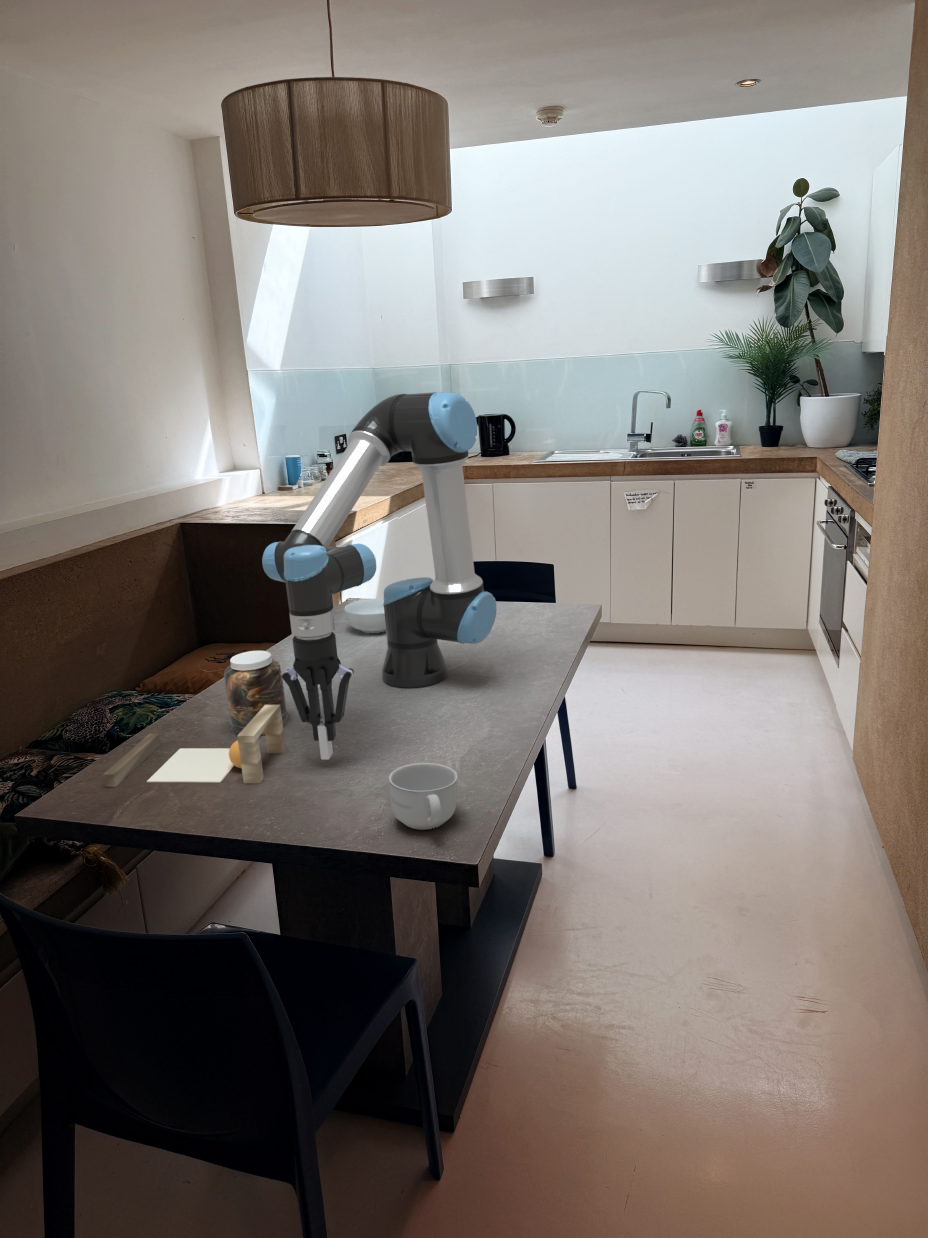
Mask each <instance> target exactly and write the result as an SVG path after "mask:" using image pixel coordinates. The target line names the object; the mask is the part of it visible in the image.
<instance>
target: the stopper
mask: <svg viewBox="0 0 928 1238" xmlns="http://www.w3.org/2000/svg"><path fill="white" fill-rule="evenodd" d="M161 745H162V743H161V738H160V733H148V734H147V735H146V736H145V737H144V738H142V740H140V741H139V742H138V743H137V744H135V746H134V747H133V748H131V749H130V750H129V751H128V752H127V753H125V755H124V756H122V757H120V759H119V760H118V761H117V762H115V763H114V764H113V765H112V766H111V767H110V768H108V770H106V771H105V772H104V773H102V777H103V781H104V787H105V788H116V787H117V786H119V785H120V784H121V783H122V782H123V781H124V780H126V779H127V777H129V775H130V774H131V773H133V772H134V771H135V770H136V769H137V768H138V767H139V766H140V765H141V764H142V763H144V762H145V760H147V759H148V758H149V757H150V756H151V755H152V754H153V753H154V752H155V751H156V750H157V749H158V748H159V747H161Z"/></svg>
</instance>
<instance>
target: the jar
mask: <svg viewBox="0 0 928 1238" xmlns="http://www.w3.org/2000/svg"><path fill="white" fill-rule="evenodd" d="M229 661H230V665H229V666H228V667H226V668H225V670H224V672H223V676H224V677H223V678H224V688H225V689H224V690H225V696H226V702H227V710H228V718H229V723H230V724H229V725H230V729H231V732H232V733H233V734H235V735H236V736H238V734H239V733H240V732H241V731H242V730H243V729H244V728H245V727H246V726H247V724H248V723H249V722H250V721H251V720H252V719H253V718H254V717H255V716H256V714H257V713H258V712H259V711H260V710H261V709H262V708H263V707H264V706H265V705H280V707H281V715H282V723H283V728H284V727H285V726H286V725H287V724H288V711H287V703H286V697H285V688H284V682H283V681H284V680H283V678H282V675H283V673H282V667H281V665H280V664H281V663H279V661H278V660H276V659H272V653H271V652H270V651H267V650H249V651H243V652H241V653H237V654H236V655H234V656H232V657H231V658H230V660H229ZM260 736H265V731H263V733H262V734H261V735H260Z"/></svg>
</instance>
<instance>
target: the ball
mask: <svg viewBox="0 0 928 1238" xmlns="http://www.w3.org/2000/svg"><path fill="white" fill-rule="evenodd" d="M229 758H230V761H231V762H232V764H233V765H235V766H234V767H236V768H238V769H242V767H241V760H240V752H239V745H238V739H237V740H236V741H234V742H233V743H232V744H231V745H230V750H229Z"/></svg>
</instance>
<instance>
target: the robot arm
mask: <svg viewBox="0 0 928 1238" xmlns="http://www.w3.org/2000/svg"><path fill="white" fill-rule="evenodd" d="M477 435H478V423H477V418H476V413H475V411H474V409H473V407H472V405H471V404H470V402H469V401H467V399H466V398H465V397H464V396H463V395H461V394H459V393H456V392H455V393H454V392H444V391H436V392H424V393H423V392H421V393H400V394H399V393H398V394H394V395H391V396H388V397H387V398H385V399H383V400H382V401H380V402H378V403H377V404H375V405H374V406H373V407H372V408H371V409H370V410H369V411H368V412H367V413H366V414H364V416H362V418H361V419H360V420H358V423H357V424H356V425H355V426H354V428H353V429H352V431H351V432H350V433H349V435H348V437H347V447H346V448H345V450H344V452H343V453H342V454H341V456H340V457H339V459H338V460H337V462H336V463H335V465H334V467H332V470H330V472H329V474H328V476H327V477H326V479H325V480H324V481H323V483H322V484H321V486H320V487H319V489H318V490H317V492H316V493H315V495H314V496H313V498H312V499H311V501H310V502H309V504H308V506H307V507H306V509H305V510H304V512H303V513H302V515H301V516H300V518H299V519H298V521H297V522H296V524H295V525H294V527H293V528H292V530H291V531H290V533H289V534H288V535H287V537H286V538H285V540H284V541H278V542H277V541H275V542H272V543H270V544H269V545H268V546H266V547H265V550H264V551H263V555H262V558H261V560H262V561H261V562H262V563H261V564H262V568H263V571H264V573H265V574H266V576H268V578H269V579H271V580H273V581H278V582H282V583H285V587H286V597H287V601H288V602H287V603H288V610H289V620H290V629H291V634H292V635H293V637H292V647H293V656H294V661H293V664H292V667H291V668H288V669H286V670H285V671H284V673H282V679H283V681H284V682H285V683H286V685H287V686H288V689H289V691H290V694H291V696H292V698H293V702H294V704H295V707H296V710H297V713H298V716H299V718H300V721H301V722H302V723H308V724H310V725H311V726H312V728H311V729H312V734H313V737H312V738H313V740H314V742H318V746H319V754H320V759H321V760H330V758H331V756H332V755H333V753H334V751H333V742H334V740H335V739H336V737H337V734H336V723H340V722H341V720H342V719H344V718H343V717H344V716H345V712H346V711H345V710H346V705H347V698H348V691H349V685H350V680H351V678H352V677H353V675H354V674H355V673H354V672H355V670H354V669H353V668H351V667H350V668H347V667H346V666H344V665H342V663H341V660H340V659H339V656H338V648H337V639H336V638H337V637H336V633H334V631H335V619H334V611H333V601H332V596H333V595H335V594H338V593H341V592H343V591H345V590H349V589H352V588H356V587H360V586H362V585H364V584H365V583H368V582H369V581H371V580H372V579H373V577H374V576H375V574H376V572H377V558H376V556H375V554H374V553H373V551H372V550H371V548H370V547H368V546H367V545H366V544H363V543H353V544H351V543H350V544H347V545H344V546H331V545H330V544H331V543H332V541H333V539H334V538H335V536H336V535H337V533H338V532H339V531H340V529H341V527H342V526H343V524H344V522H345V521H346V519H347V518H348V517H349V515H350V513H351V512H352V510H353V508H354V507H355V505H356V504H357V502H358V501H359V499H360V498H361V496H362V495H363V493H364V492H365V490H366V488H367V487H368V485H369V483H370V481H371V480H372V479H373V477H374V475H375V474H376V472H377V471H378V469H379V468H380V467H382V466H385V465H387V464H388V463H389V461H390V460H391V458H392V457H393V456H394V455H396V454H398V453H400V452H411V457H412V464H413V465H414V466H415V467H416V468H418V469H419V470H420V471H421V477H422V485H423V493H424V500H425V501H424V502H425V508H426V514H427V521H428V529H429V536H430V544H431V545H430V546H431V553H432V561H433V568H434V576H435V579H433V578H431V577H426V576H425V577H414V578H408V579H404V580H399V581H395V582H392V583H390V584H388V585H386V587H385V588H384V589H383V599H384V603H383V606H384V613H385V623H386V641H387V649H386V653H385V657H384V662H383V665H382V673H381V674H382V680H383V682H384V683H385V684H386V685H389V686H391V687H397V688H403V689H404V688H413V689H414V688H421V687H427V686H432V685H436V684H437V683H440V682H442V681H443V680H445V679H446V677H447V676H448V669H447V668H448V667H447V663H446V661H445V658H444V655H443V653H442V651H441V649H440V646H439V644H438V643H439V642H438V640H440V641H446V642H454V643H459V644H472V645H475V644H480V643H481V642H483V641H484V640H485V639H486V638H487V637H488V636H489V635H490V633H491V631H492V629H493V626H494V625H495V621H496V617H497V616H496V615H497V600H496V598H495V597H494V596H493V594H492V593H491V592H488V591H485V589H484V581H483V579H482V577H481V576H480V575H477V574H476V573H475V565H474V563H475V562H474V556H473V548H472V539H471V538H472V537H471V528H470V522H469V513H468V503H467V495H466V487H465V485H466V484H465V477H464V470H463V469H464V467H463V465H464V464H465V462H466V461H467V460H468V459H469V451H470V450H471V449H472V448H473V447H474V445H475V444H476V441H477V439H476V436H477ZM337 673H338V679H339V680H340V681H339V685H338V689H337V691H338V692H337V698H336V705H335V706H334V704H335V703H334V697H333V688H332V686H333V679H334V677H335V676H336V674H337ZM298 677H300V678H301V679H302V680H303V681H304V682H305V690H306V691H307V698H306V696H305V693H304V691H303V687H302V685H301V682H300V679H299V678H298ZM318 685H319V686H318ZM319 688H320V692H321V699H322V707H323V715H324V716H323V715H321V703H320V693H319ZM307 699H308V701H307ZM323 717H324V719H323V720H322V718H323Z"/></svg>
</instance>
